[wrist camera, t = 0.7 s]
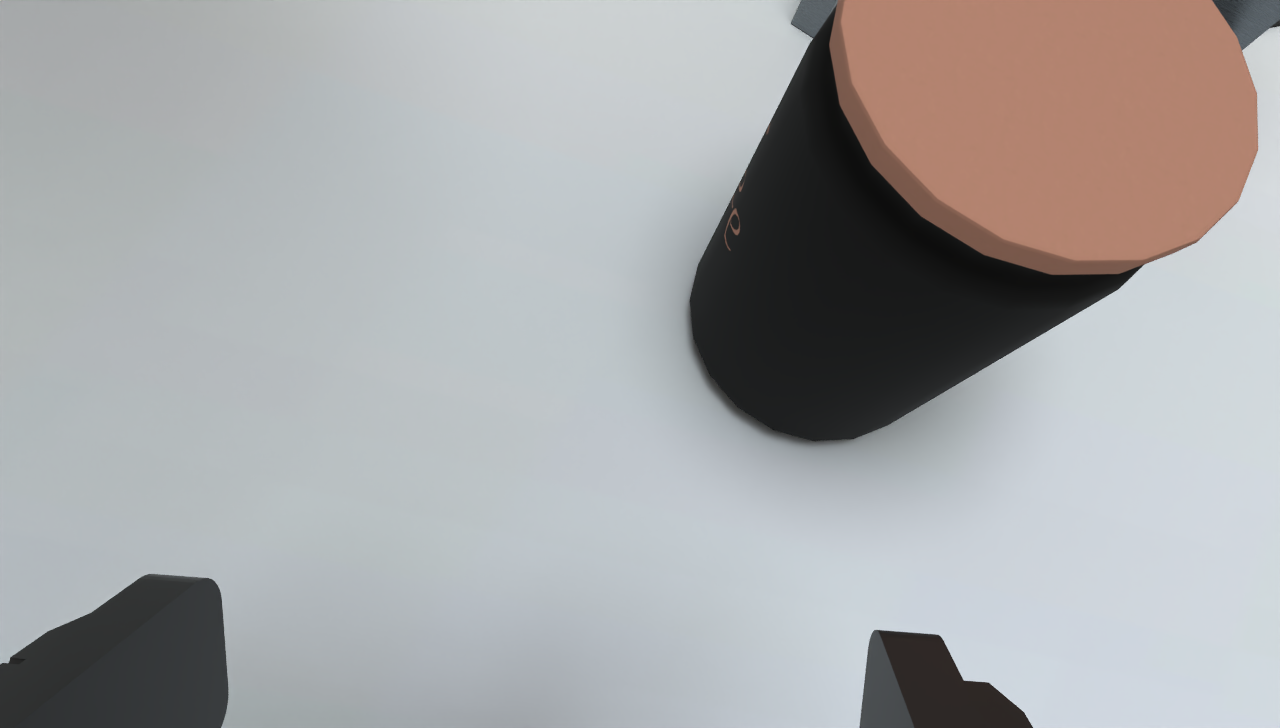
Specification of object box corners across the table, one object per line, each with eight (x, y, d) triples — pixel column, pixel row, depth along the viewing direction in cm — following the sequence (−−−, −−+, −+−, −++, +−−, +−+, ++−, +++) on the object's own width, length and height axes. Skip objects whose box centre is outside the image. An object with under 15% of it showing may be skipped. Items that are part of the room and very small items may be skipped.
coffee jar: (831, 181, 40) (1074, -168, 23) (968, 374, 38) (1347, 147, 21) (636, 280, 37) (751, -38, 20) (773, 496, 35) (1032, 346, 18)
